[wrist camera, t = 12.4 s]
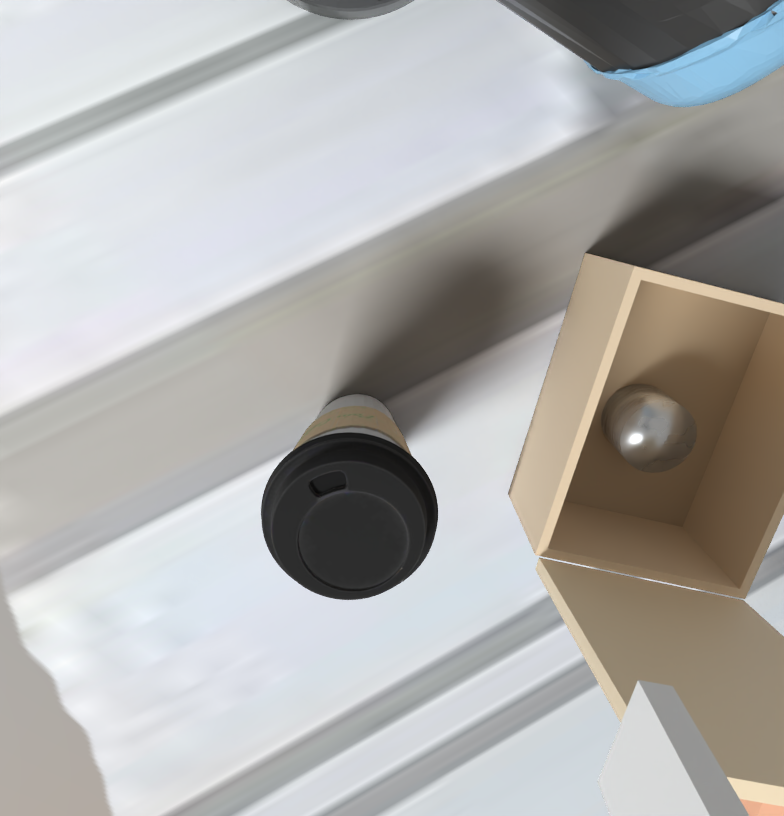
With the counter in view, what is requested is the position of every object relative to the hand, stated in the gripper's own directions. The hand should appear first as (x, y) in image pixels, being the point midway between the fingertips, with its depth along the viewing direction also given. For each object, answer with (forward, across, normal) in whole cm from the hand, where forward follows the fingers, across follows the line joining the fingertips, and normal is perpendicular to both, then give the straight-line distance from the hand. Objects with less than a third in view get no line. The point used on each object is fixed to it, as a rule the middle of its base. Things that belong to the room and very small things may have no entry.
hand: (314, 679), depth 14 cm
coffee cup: (+35, +1, -7) cm, 35 cm away
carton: (+34, +20, -1) cm, 40 cm away
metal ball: (+34, +20, -2) cm, 40 cm away
